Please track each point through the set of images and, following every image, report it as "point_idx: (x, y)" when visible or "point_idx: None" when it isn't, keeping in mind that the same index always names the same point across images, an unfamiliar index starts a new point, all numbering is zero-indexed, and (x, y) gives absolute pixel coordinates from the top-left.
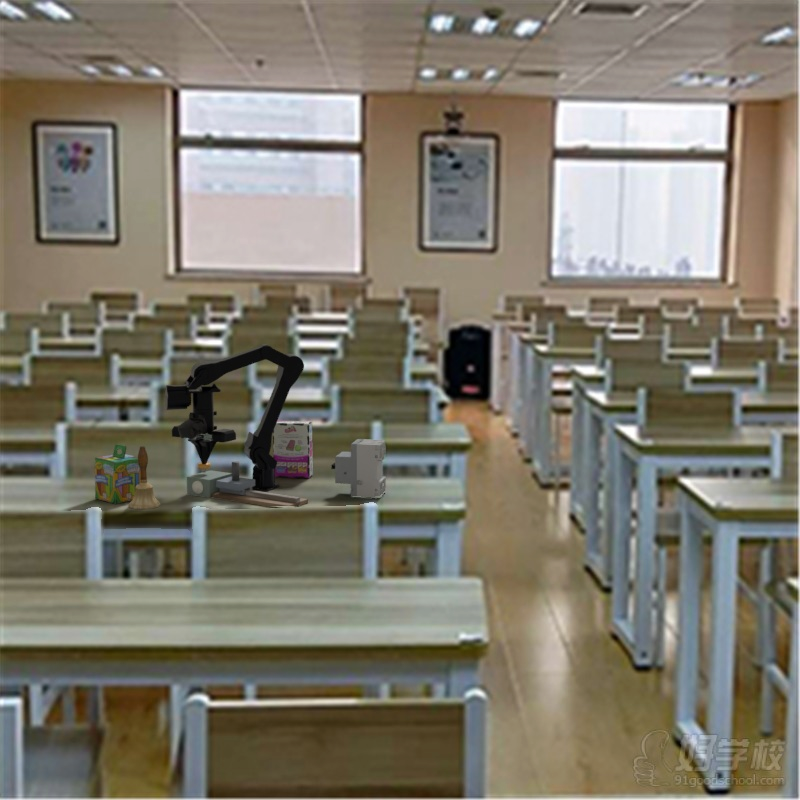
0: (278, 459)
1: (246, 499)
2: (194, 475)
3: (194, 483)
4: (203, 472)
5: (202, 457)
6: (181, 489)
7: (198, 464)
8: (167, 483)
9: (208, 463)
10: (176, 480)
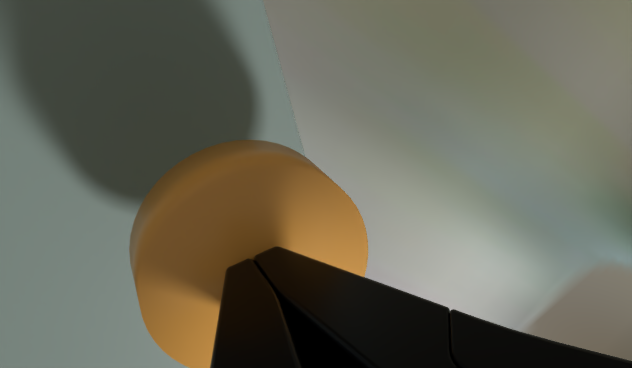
0: None
1: None
2: (226, 44)
3: None
4: None
5: (272, 313)
6: (397, 3)
7: (260, 165)
8: (613, 38)
9: None
10: (618, 141)
